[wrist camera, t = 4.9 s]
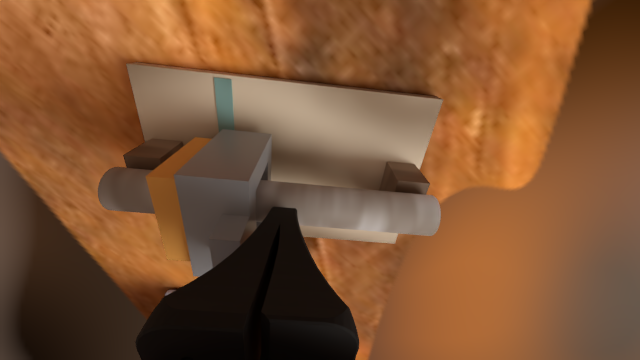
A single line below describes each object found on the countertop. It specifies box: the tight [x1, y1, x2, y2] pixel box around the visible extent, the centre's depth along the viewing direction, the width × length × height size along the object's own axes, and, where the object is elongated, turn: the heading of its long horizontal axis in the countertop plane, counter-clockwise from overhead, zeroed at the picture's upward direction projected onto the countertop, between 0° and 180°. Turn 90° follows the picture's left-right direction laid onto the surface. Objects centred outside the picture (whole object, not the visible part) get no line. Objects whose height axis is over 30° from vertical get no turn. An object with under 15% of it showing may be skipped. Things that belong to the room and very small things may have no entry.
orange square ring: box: [146, 137, 211, 261], centre depth 14 cm, size 5×2×5 cm, turn 174°
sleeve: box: [174, 129, 272, 276], centre depth 14 cm, size 6×3×8 cm, turn 174°
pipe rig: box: [98, 62, 443, 244], centre depth 16 cm, size 12×19×6 cm, turn 84°
